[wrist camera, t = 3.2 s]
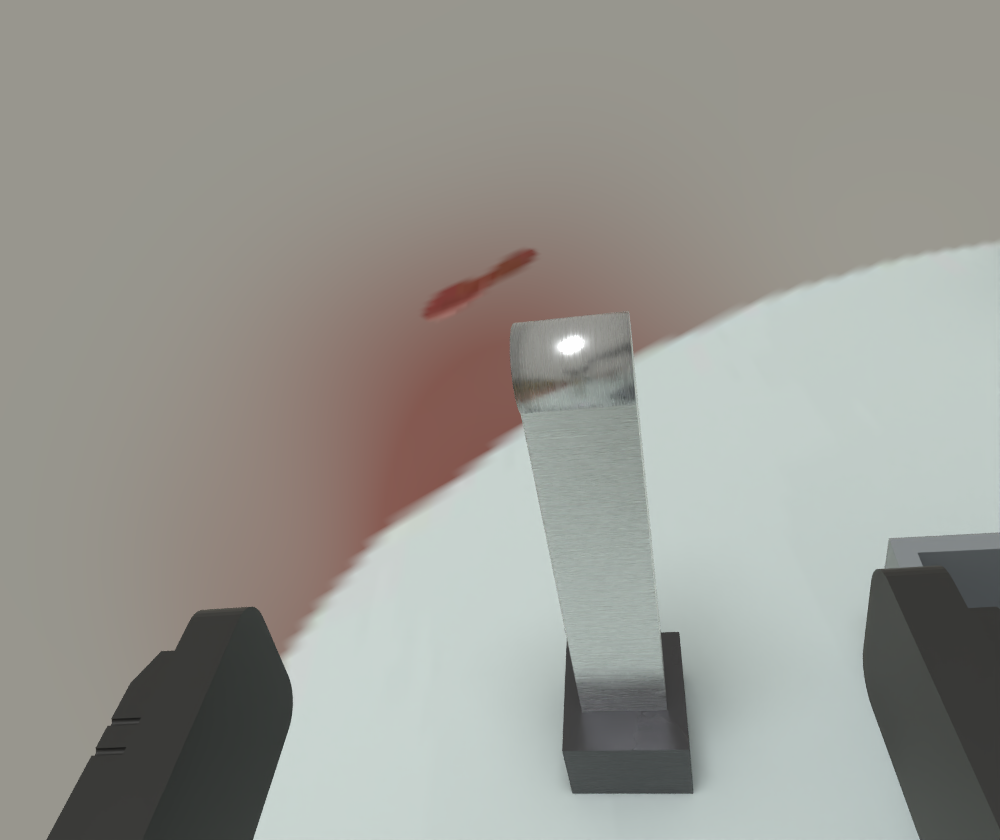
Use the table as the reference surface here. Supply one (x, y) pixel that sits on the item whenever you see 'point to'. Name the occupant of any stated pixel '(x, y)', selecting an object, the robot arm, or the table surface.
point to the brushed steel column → (602, 555)
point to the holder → (955, 562)
